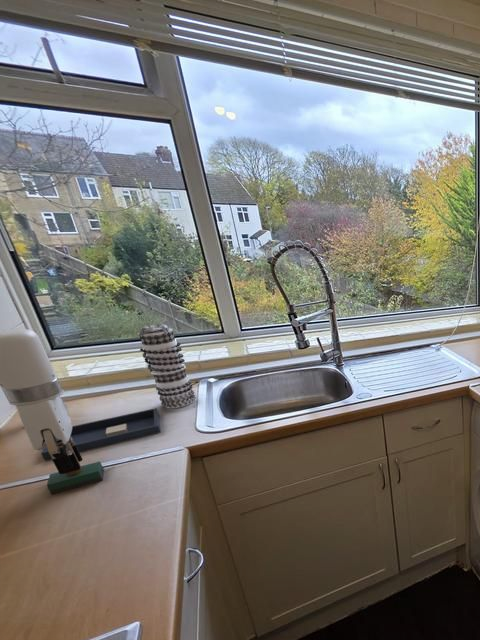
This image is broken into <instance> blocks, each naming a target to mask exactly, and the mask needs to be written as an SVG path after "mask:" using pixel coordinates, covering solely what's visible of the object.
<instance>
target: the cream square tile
mask: <svg viewBox="0 0 480 640" xmlns="http://www.w3.org/2000/svg"><path fill="white" fill-rule="evenodd" d="M125 432H128V426H127V424H122V425H118V426H113V427H109V428H107V429H106V436H107V437H108V436H112V435H116V434H120V433H125Z"/></svg>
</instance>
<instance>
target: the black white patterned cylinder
mask: <svg viewBox="0 0 480 640" xmlns="http://www.w3.org/2000/svg"><path fill="white" fill-rule="evenodd" d="M173 330H174V329H173V328H170V327H169V326H168V325H166V324H150V325H146V326H143V327H141V328H140V330H139V332H138V333H136V335H137V336H138V337H139V339H140V342H141V348H139V351H140V352H142V355H141V356H142V358H144V362H145V363H146V364H147V365H146V366H147V369H148V370H149V372H150V375H153V377H154V383H155V385H156V387H155V390H156V391H157V395H159V401H160V405H161V406H163V407H165V408H167V409H178V408H182V407H186V406H189V405H191V404H193V403H194V401H195V399H196V398H197V397H196V394H195V390H194V389H193V388H194V387H193V385H192V381H191V380H190V379H189V376H188V374H187V372H186V365H185V364H184V363H185V361H186V360H185V359H184V354H183V353H180V352H181V351H182V350H183V349H182V347H180V346H181V343H180V342H178V341H177V339H176V338H175V334H174V331H173Z"/></svg>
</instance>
